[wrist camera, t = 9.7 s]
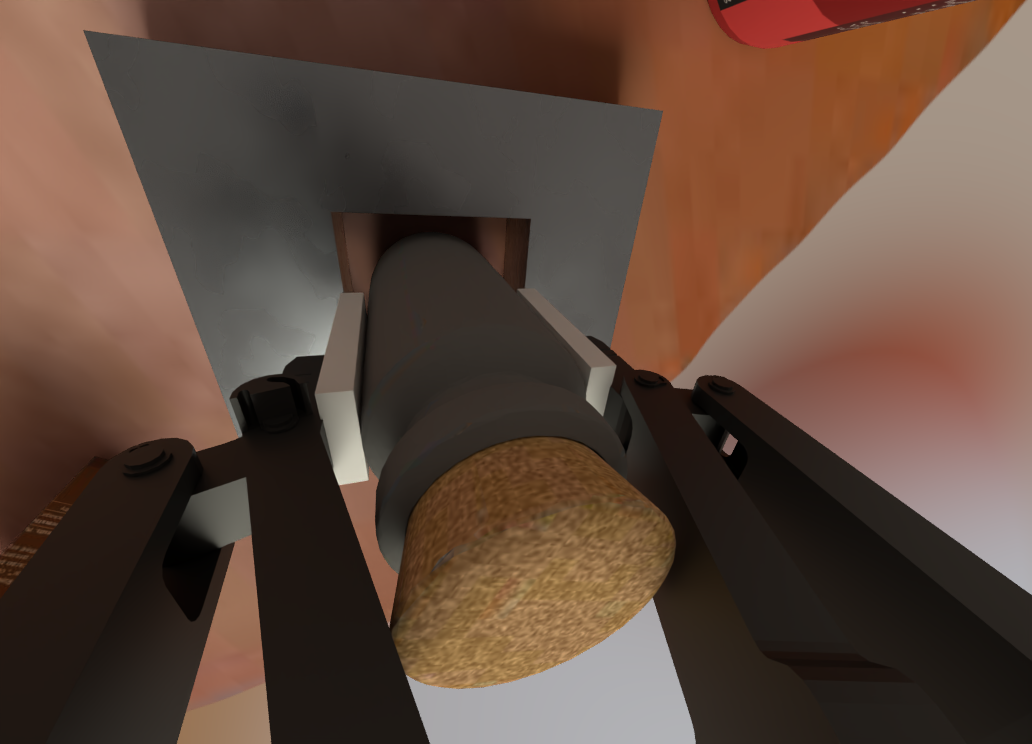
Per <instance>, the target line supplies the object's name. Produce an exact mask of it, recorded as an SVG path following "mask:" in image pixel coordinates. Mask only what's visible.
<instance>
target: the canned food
mask: <svg viewBox="0 0 1032 744" xmlns="http://www.w3.org/2000/svg"><path fill="white" fill-rule="evenodd" d="M971 1H975V0H708V3H709V6H710V9H711V12H712V14H713V16H714V18H715V19H716V21H717V23H718V25H719V26H720V28H721V29H722V30H723V31H724V32H725V33H726V34H727V35H728V36H729V37H730V38H732V39H734V40H735V41H737V42H738V43H741V44H745V45H750V46H754V47H759V48H763V49H765V48H776V47H781V46H785V45H789V44H793V43H798V42H802V41H806V40H810V39H815V38H819V37H823V36H827V35H832V34H836V33H840V32H844V31H848V30H853V29H857V28H861V27H865V26H870V25H874V24H878V23H882V22H887V21H891V20H895V19H899V18H903V17H908V16H912V15H916V14H920V13H925V12H929V11H933V10H937V9H942V8H946V7H950V6H954V5H958V4H963V3H967V2H971Z"/></svg>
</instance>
